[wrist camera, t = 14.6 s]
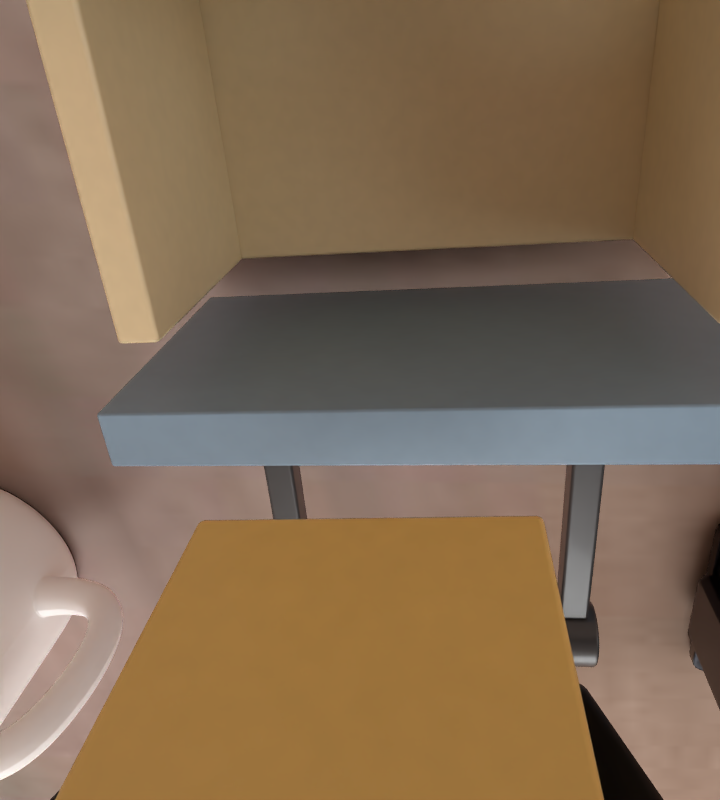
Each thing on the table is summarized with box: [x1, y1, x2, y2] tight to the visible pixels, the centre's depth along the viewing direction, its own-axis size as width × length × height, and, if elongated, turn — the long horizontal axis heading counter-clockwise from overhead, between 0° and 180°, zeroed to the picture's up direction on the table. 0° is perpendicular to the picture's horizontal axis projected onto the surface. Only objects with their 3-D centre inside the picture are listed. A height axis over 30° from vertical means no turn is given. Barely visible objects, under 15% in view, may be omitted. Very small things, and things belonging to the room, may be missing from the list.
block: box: [55, 516, 604, 800], centre depth 7 cm, size 4×4×4 cm
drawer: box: [26, 0, 720, 667], centre depth 13 cm, size 19×12×7 cm, turn 5°
